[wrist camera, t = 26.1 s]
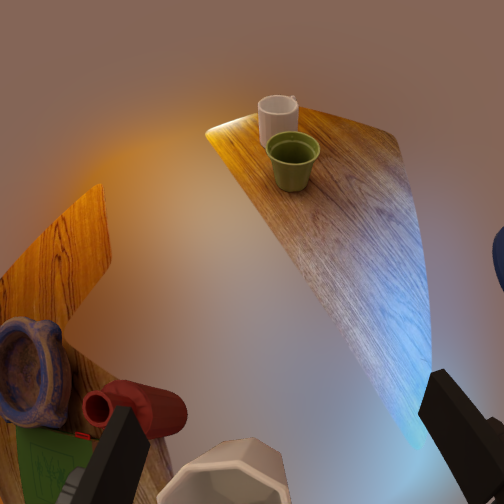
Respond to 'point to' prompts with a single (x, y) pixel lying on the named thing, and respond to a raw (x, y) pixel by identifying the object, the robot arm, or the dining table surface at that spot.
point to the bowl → (33, 374)
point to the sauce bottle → (137, 407)
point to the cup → (230, 476)
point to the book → (50, 460)
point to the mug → (277, 116)
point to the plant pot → (292, 158)
